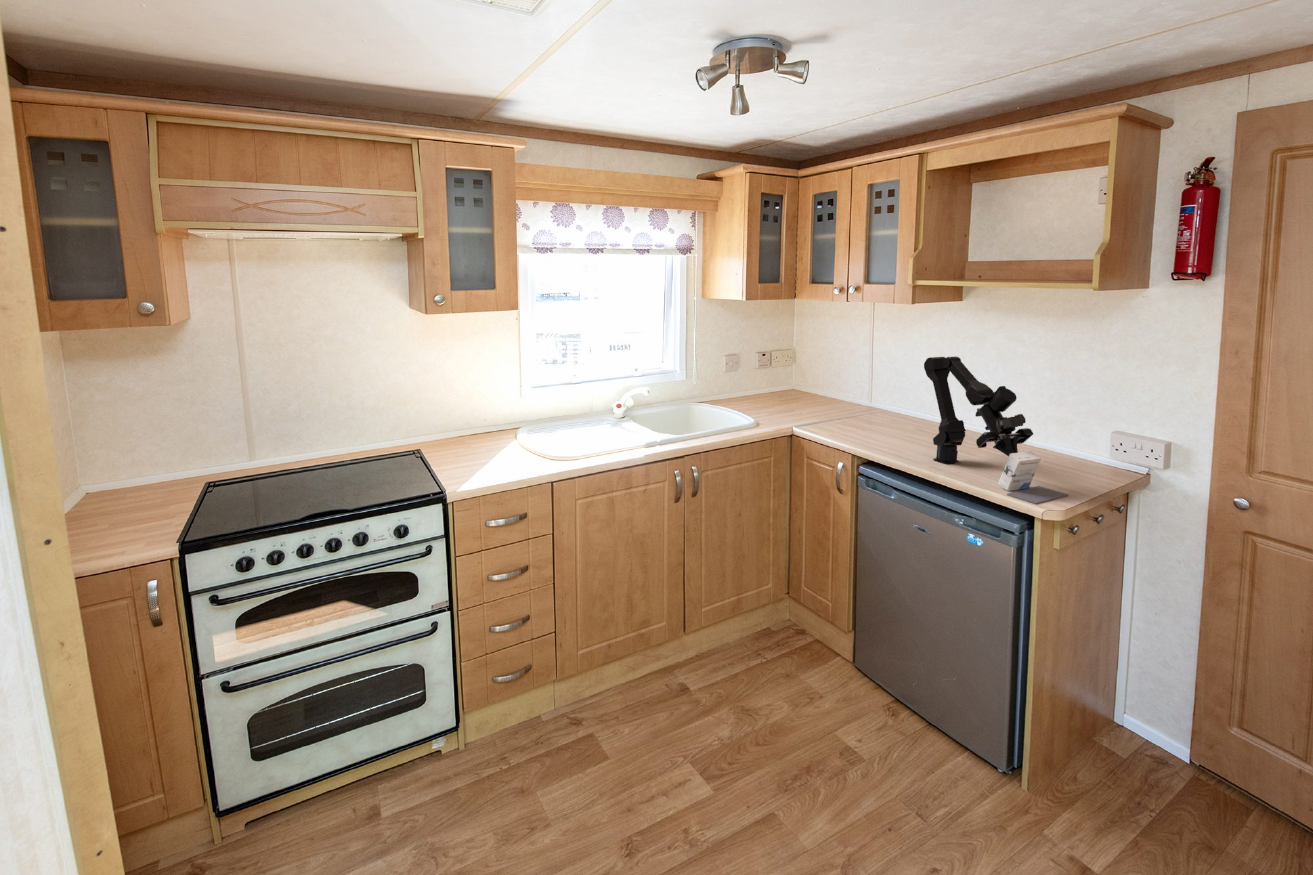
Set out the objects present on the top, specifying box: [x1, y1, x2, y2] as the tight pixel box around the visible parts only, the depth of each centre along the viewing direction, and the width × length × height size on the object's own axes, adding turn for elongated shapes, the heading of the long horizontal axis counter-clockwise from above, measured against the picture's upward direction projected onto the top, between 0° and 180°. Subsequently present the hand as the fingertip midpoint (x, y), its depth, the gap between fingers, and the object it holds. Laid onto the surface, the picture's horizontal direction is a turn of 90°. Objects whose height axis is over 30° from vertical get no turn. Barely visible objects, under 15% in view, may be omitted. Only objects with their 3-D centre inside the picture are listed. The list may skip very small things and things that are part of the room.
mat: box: [1006, 485, 1069, 505], centre depth 230 cm, size 10×16×1 cm, turn 119°
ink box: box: [998, 450, 1042, 492], centre depth 234 cm, size 9×5×12 cm, turn 106°
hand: (1016, 459), depth 234 cm, fingers closed, pressing on ink box
